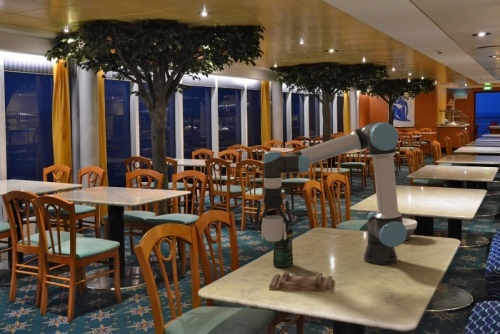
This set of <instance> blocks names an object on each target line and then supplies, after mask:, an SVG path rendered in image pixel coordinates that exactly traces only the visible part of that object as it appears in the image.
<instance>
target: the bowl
mask: <svg viewBox="0 0 500 334" xmlns="http://www.w3.org/2000/svg"><path fill="white" fill-rule="evenodd" d="M402 221H403V225H404V226H405V228H406V231H407V236H406V239H405V241H407V240H409V239H410V238H411V237H410V236H412V235H413V234H414V232H415V230H416V229H417V225H418V222H417V221H416V220H415V219H412V218H403V217H402Z"/></svg>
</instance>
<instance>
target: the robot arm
mask: <svg viewBox="0 0 500 334" xmlns="http://www.w3.org/2000/svg"><path fill="white" fill-rule="evenodd" d="M398 142H399V132H398V130H397V128H396V127H394V126H393V125H392V124H390V123H389V122H385V121H384V122H383V121H381V122H376V121H375V122H371V123H368V124H366V125H364V126H361V127H359V128H356V129H353V130H352V131H351V133H348V134H345V135H342V136H338V137H336V138H333V139H329V140H326V141H323V142H321V143H318V144H315V145H311V146H309V147H306V148H303V149H300V150H297V151H294V152H288V153H286V154H284V155H282V153H281V151H279V150H278V151H277V150H276V151H265V152H264V153H263V186H264V189H263V190H264V191H263V194H264V197H263V199H258V200H256V201H257V202H256V203H257V208H256V213H255V217H254V223H255V224H258V230H259V232H261V240H264V239H265V237H264V233H263V225H262V218H263V217H265V216H267V213H268V212H269V210H273V209H274V210H277V211H278V213H279V215H280V216H282V217H283V224H284V239H286V231H288V230H289V225H290V224H292V222H294V221H293V216H292V212H291V208H290V200H289V199H283V194H282V193H283V191H282V184H283V183H282V174H297V173H298V174H302V173H303V174H304V173H308V172H309V170H310V165H312V164H315V163H318V162H321V161H325V160H327V159H330V158H333V157H336V156H339V155H342V154H346V153H349V152H352V151H355V150H358V151H362V150H365V149H368V155H369V157H371V158H372V159H373V161H372V162H373V171H374V173H373V174H374V180H375V181H374V182H375V192H376V204H377V211H370V212H368V214H367V219H366V220H367V245H366V248H365V252H364V255H363V261H365V262H366V263H369V264H374V265H392V264H395V263H397V262H398V255H397V252H396V248H395V247H398V246H401V245H402V244H403V243H404V242H405V241H406V240H405V239H406V236H407V231H406V228H405V226H404V225H403V221H402V218H403V215H402V213H401V212H400V210H399V207H398V206H399V205H398V195H397V182H396V171H395V162H394V156H395V155H396V154H397V144H398ZM263 203H264V205H265V208H264V210H263V212H262V215H261V217H260V214H261V209H262V205H263ZM282 204H283V205H284V206H285V211H286V214H285V212H284V210H283V208H282V206H281V205H282ZM286 215H287V216H286ZM259 218H260V219H259Z"/></svg>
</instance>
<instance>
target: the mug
mask: <svg viewBox="0 0 500 334" xmlns="http://www.w3.org/2000/svg"><path fill="white" fill-rule="evenodd" d="M262 225H263V233H264V237H265V238H264V239H265V241H268V242H274V241H280V240H281V238H282V235H283V226H284V220H283V217H282V216H281V215H273V214H272V215H266V216H265V217H263V218H262Z"/></svg>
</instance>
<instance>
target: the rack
mask: <svg viewBox="0 0 500 334" xmlns="http://www.w3.org/2000/svg"><path fill="white" fill-rule="evenodd" d="M332 282H333V276H332V275H327V276H323V272H317V275H316V276H301V275H300V276H299V275H296V276H295V275H290V271H284V272H283V274H282V275H280V273H274V275H273V277H272V278H271V281H270V283H269V285H268V288H269V291H270V290H271V291H273V290H274V291H294V290H297V291H296V292H298V291H299V290H300V292H321V291H330V292H332V291H331V290H332ZM302 290H303V291H302Z"/></svg>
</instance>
